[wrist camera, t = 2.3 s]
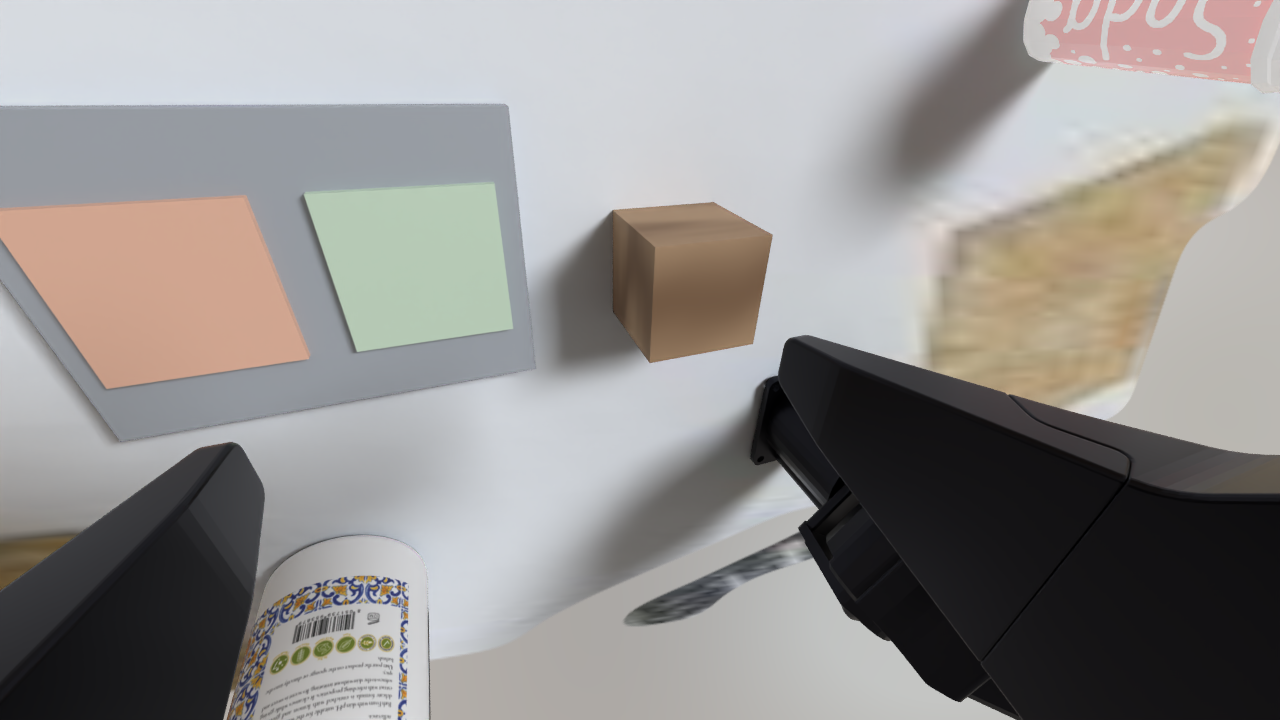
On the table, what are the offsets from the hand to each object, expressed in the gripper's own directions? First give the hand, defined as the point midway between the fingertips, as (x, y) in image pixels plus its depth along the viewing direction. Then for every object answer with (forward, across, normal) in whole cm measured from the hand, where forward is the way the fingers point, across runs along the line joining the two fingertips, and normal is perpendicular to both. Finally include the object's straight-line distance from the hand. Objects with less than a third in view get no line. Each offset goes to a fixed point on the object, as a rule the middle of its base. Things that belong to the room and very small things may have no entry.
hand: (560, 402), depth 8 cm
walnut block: (+12, -7, +3) cm, 14 cm away
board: (+12, +6, +2) cm, 13 cm away
